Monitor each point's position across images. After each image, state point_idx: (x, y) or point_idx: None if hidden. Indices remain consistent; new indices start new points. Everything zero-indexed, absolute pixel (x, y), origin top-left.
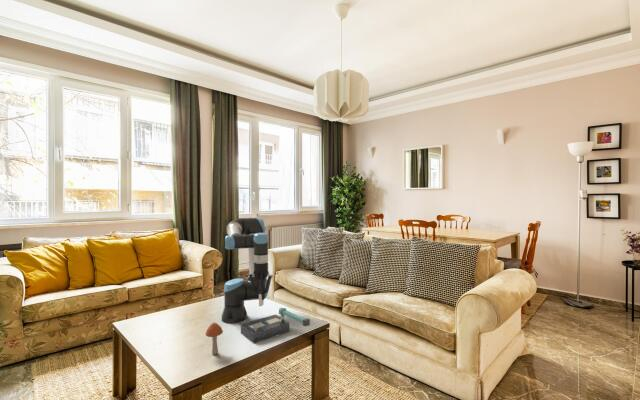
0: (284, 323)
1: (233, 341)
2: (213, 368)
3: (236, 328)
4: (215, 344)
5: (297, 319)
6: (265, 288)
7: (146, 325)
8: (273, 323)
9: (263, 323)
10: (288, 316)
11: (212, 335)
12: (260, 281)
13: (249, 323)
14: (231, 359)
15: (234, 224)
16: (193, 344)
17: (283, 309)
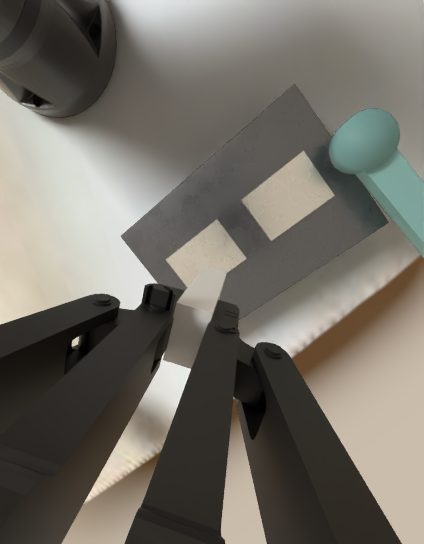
0: (355, 234)
1: (133, 304)
2: (131, 455)
3: (106, 180)
4: None
5: None
6: (251, 461)
7: None
8: (290, 232)
9: (234, 230)
10: (401, 226)
11: None
12: (74, 469)
13: (160, 228)
14: (165, 419)
15: None
16: (11, 316)
17: (377, 149)
